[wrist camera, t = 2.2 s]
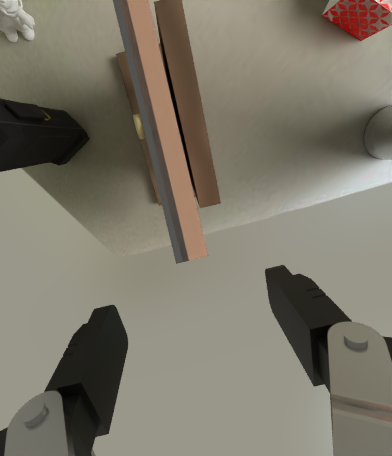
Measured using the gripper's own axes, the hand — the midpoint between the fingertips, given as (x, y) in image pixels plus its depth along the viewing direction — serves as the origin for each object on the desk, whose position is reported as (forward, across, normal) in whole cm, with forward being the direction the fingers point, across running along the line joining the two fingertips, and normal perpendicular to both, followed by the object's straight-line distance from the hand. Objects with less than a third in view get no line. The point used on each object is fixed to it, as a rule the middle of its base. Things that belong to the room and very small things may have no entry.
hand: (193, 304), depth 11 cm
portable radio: (+38, +17, -11) cm, 43 cm away
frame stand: (+38, 0, -8) cm, 39 cm away
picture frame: (+27, 0, -3) cm, 27 cm away
